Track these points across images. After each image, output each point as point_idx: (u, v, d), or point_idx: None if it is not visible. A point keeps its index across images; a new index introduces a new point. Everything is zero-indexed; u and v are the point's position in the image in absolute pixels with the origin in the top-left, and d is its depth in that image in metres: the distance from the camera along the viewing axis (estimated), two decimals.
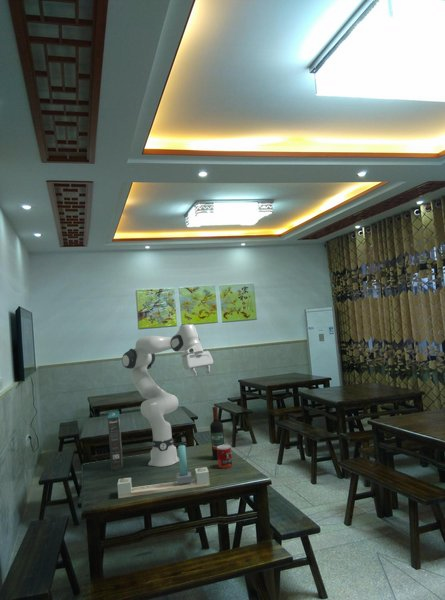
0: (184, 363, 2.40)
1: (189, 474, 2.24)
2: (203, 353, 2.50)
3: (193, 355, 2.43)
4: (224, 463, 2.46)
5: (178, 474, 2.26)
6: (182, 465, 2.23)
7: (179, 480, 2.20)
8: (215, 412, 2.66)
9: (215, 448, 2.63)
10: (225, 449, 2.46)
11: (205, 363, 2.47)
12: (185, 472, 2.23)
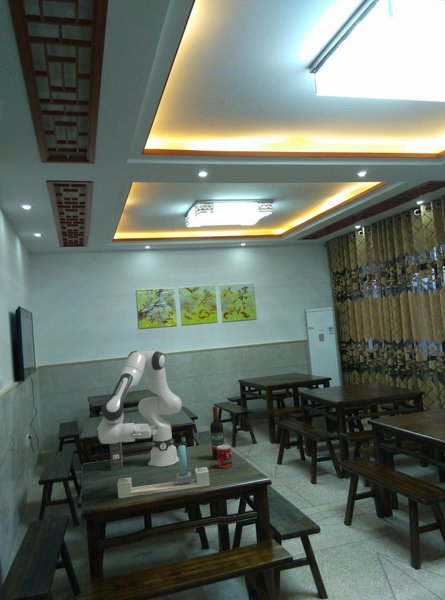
0: None
1: (189, 474, 2.24)
2: None
3: None
4: (224, 463, 2.46)
5: (178, 474, 2.26)
6: (182, 465, 2.23)
7: (179, 480, 2.20)
8: (215, 412, 2.66)
9: (215, 448, 2.63)
10: (225, 449, 2.46)
11: None
12: (185, 472, 2.23)
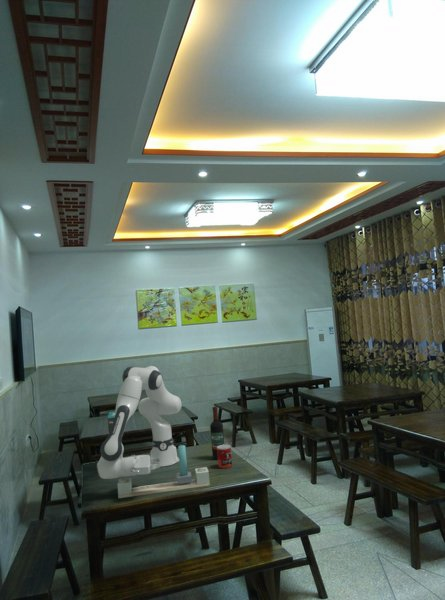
0: None
1: (189, 474, 2.24)
2: None
3: None
4: (224, 463, 2.46)
5: (178, 474, 2.26)
6: (182, 465, 2.23)
7: (179, 480, 2.20)
8: (215, 412, 2.66)
9: (215, 448, 2.63)
10: (225, 449, 2.46)
11: None
12: (185, 472, 2.23)
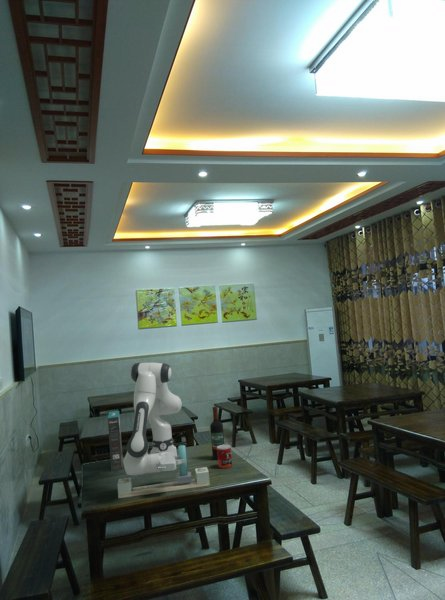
0: None
1: (189, 474, 2.24)
2: None
3: None
4: (224, 463, 2.46)
5: (178, 474, 2.26)
6: (182, 465, 2.23)
7: (179, 480, 2.20)
8: (215, 412, 2.66)
9: (215, 448, 2.63)
10: (225, 449, 2.46)
11: None
12: (185, 472, 2.23)
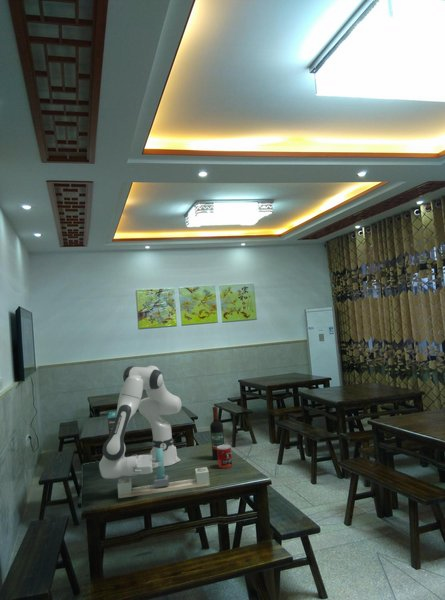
0: None
1: (166, 477, 2.22)
2: None
3: None
4: (224, 463, 2.46)
5: (155, 477, 2.24)
6: (159, 468, 2.21)
7: (156, 483, 2.19)
8: (215, 412, 2.66)
9: (215, 448, 2.63)
10: (225, 449, 2.46)
11: None
12: (162, 475, 2.21)
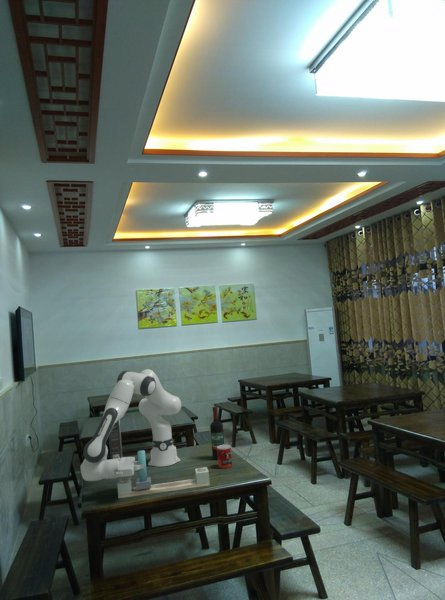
0: None
1: (148, 480, 2.21)
2: None
3: None
4: (224, 463, 2.46)
5: (138, 480, 2.22)
6: (141, 470, 2.20)
7: (138, 486, 2.17)
8: (215, 412, 2.66)
9: (215, 448, 2.63)
10: (225, 449, 2.46)
11: None
12: (144, 478, 2.20)
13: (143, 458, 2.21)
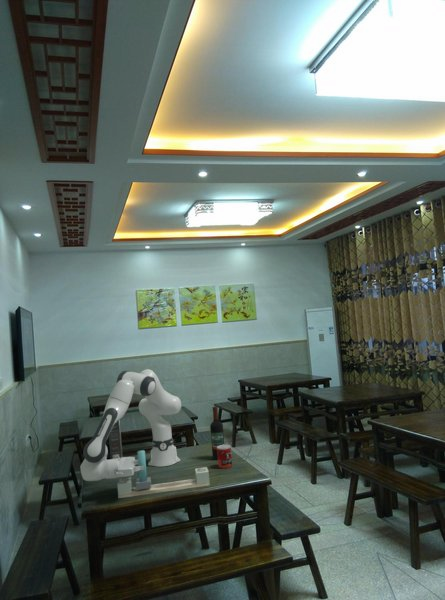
0: None
1: (148, 480, 2.21)
2: None
3: None
4: (224, 463, 2.46)
5: (138, 480, 2.22)
6: (141, 470, 2.20)
7: (138, 486, 2.17)
8: (215, 412, 2.66)
9: (215, 448, 2.63)
10: (225, 449, 2.46)
11: None
12: (144, 478, 2.20)
13: (143, 458, 2.21)
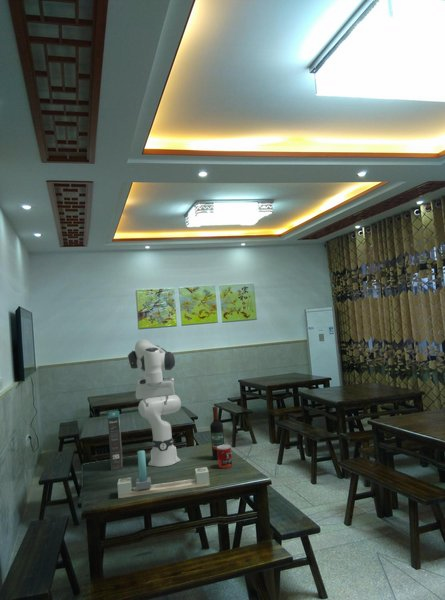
0: None
1: (148, 480, 2.21)
2: (162, 383, 2.34)
3: (145, 386, 2.32)
4: (224, 463, 2.46)
5: (138, 480, 2.22)
6: (141, 470, 2.20)
7: (138, 486, 2.17)
8: (215, 412, 2.66)
9: (215, 448, 2.63)
10: (225, 449, 2.46)
11: (161, 395, 2.34)
12: (144, 478, 2.20)
13: (143, 458, 2.21)
